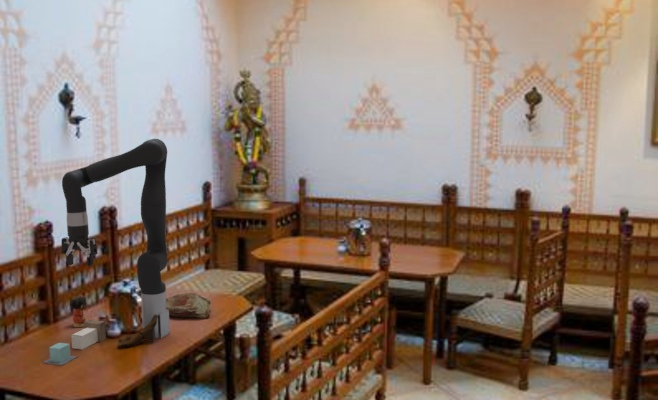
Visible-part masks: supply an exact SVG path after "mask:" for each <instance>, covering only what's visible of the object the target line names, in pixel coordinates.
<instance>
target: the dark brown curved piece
mask: <svg viewBox="0 0 658 400" xmlns="http://www.w3.org/2000/svg"><path fill="white" fill-rule="evenodd" d="M157 318H158V316H157V315H155V316H154V317H153V318H152V320H151V322H150V323H149V324H148V325H147V326H145V327H144V328H143V327H142V329H141V330H140V331H139V332H137V333H134V334H128V333H126V334H125V335H124V336H123V337H121V338H119V339H118V340H117V341H118V343H117V347H118V348H119V347H120V348H126V347H132V346H136V345H138V344H141V343H142V342H143V341H144V340H145V341H149V342H151V343H153V344H154V339H155V338H153V329H154V327H155V326H156V324H157Z"/></svg>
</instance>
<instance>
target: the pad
mask: <svg viewBox="0 0 658 400" xmlns="http://www.w3.org/2000/svg"><path fill="white" fill-rule="evenodd" d="M77 358H78V356H76V355H70V358H69V359H67V360H65V361H63V362H61V363H60V362H53V361H50V358H48V359H46V360H44V361H43V362H42V363H43V364H49V365H55V366H64V365H66V364H68V363H70V362H72V361H73V360H75V359H77Z"/></svg>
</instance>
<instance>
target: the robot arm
mask: <svg viewBox="0 0 658 400" xmlns="http://www.w3.org/2000/svg"><path fill="white" fill-rule="evenodd" d="M167 157H168V148H167V145H166V143H165V142H164V141H162V139H159V138H152V139H148V140H146V141H143V142H142V143H141V144H140V145H138V146H136V147H135V148H133V149H130V150H129V151H126V152H124V153H121V154H119V155H115V156H111V157H108V158H104V159H101V160H98V161H95V162H93V163H91V164H89V165H87V166H84V167H81V168H77V169H74V170H72V171H68V172H66V173H65V174H64V175H63V176H62V178H61V179H62V180H61V185H62V186H61V187H62V191H63V194H64V195H63V196H64V198H65V206H66V230H67V237H63V238H61V253H62V254H65V255H66V261H67V264H68V266H73V265H74V262H75V261H74V252H75V251H82V253H83V254H85V255H86V264H87V265H86V266H87V267H92V266H93V264H94V256H96V255H98V245H97V239H96V238H93V239H89V235H90V233H89V232H90V231H89V218H88V211H87V201H86V198H85V196H83V191H82V188H85V187H86V186H89V185H91V184H93V183H98V182H102V181H105V180H107V179H110V178H112V177H114V176H117V175H119V174H121V173H124V172H127V171H128V170H132V169H135V168H141V167H144V166H145V178H144V183H143V186H142V191H141V196H140V197H141V198H140V217H141V221H142V224H143V227H144V229H145V233H146V240H147V241H146V251H145V252H143V253H141V254H140V255H139V257H138V258H137V262H136V269H137V270H136V271H137V281H138V286H139V288H140V298H141V299H140V300H141V318H142V319H141V321H142V329H143V328H144V327H145V326H147V325H148V324H149V323H150V322H151V320H152V318H153V317H154V316H155V315H157V316H158V318H157V324H156V326H155V327H154V329H153V339H162V338H164V337H166V336H167V335H169V334H171V331H170V329H171V328H170V324H171V323H170V315H169V310H168V309H167V308H166V299H167V292H166V291H167V289H166V287H167V286H166V283H165V282H163V281H162V276H161V272H162V271H163V270H165V268H166V267H167V264H168V249H167V241H166V226H167V225H166V224H167V223H166V222H167V221H166V217H167V198H166V197H167V193H166V192H167V190H166V187H167V186H166V168H167Z"/></svg>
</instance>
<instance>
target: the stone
mask: <svg viewBox="0 0 658 400" xmlns="http://www.w3.org/2000/svg"><path fill="white" fill-rule="evenodd" d="M211 302H212V301H211V299H210V297H209V298H208V297H205V296H204V295H200V294H197V293H195V292H189V293H188V292H187V293H186V292H185V293H181V294H175V295H173V296H169V297H166V308H167V309H168V310H169V316H172V317H177V318H183V317H185V318H186V317H187V318H192V317H196V318H201V319H206V318H207V317H208V316H209V314H210V312H211V307H210V305H211Z"/></svg>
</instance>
